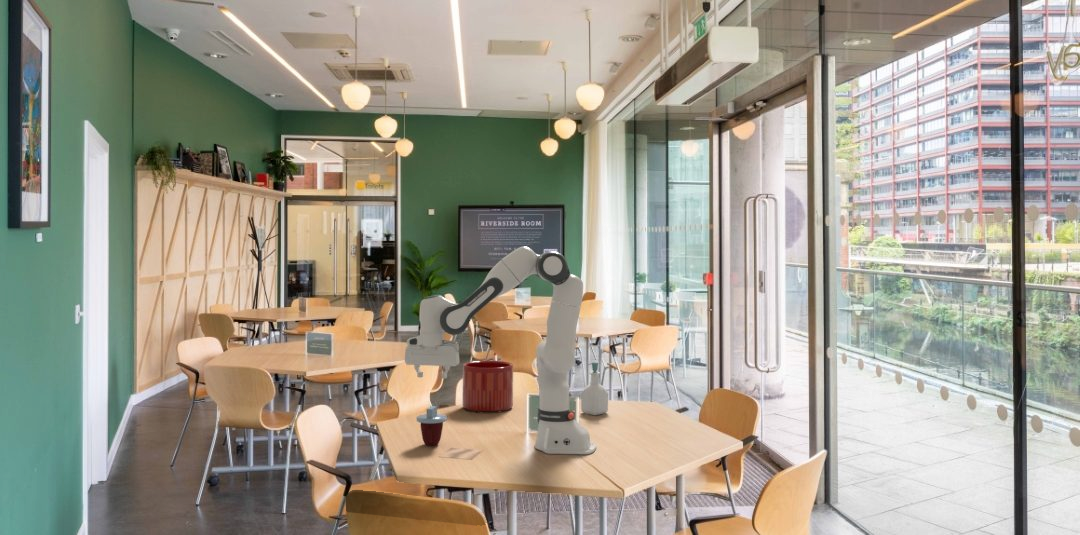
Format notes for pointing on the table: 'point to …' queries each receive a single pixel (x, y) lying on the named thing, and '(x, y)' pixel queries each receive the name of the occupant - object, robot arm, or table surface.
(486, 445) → the table surface
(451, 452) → the mat
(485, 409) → the planter
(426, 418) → the lid
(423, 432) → the mug
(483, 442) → the table surface
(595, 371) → the soap bottle
